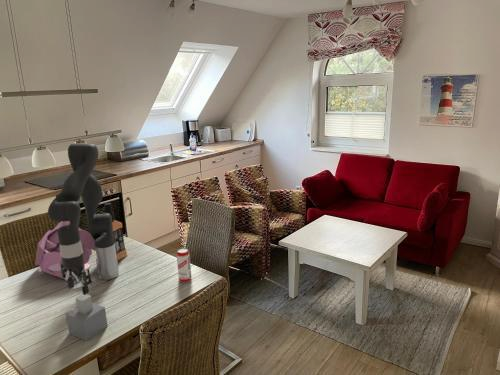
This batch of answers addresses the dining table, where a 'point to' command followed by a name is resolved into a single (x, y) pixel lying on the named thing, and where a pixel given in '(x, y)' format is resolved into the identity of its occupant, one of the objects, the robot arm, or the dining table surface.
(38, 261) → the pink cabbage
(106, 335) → the dining table surface
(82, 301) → the grey stepped block
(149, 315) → the dining table surface
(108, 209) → the whiskey bottle
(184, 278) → the beer can
